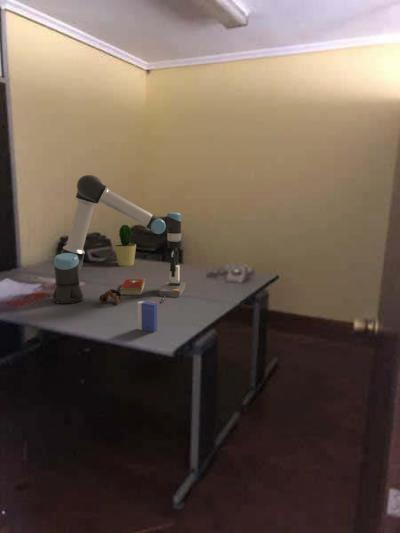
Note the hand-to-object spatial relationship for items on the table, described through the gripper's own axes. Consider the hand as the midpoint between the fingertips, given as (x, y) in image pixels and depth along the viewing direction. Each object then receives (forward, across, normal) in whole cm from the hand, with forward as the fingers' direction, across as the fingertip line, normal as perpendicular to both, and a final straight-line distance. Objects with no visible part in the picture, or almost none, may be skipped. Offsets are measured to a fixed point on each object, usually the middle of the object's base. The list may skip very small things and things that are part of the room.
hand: (174, 280), depth 224 cm
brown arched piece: (+5, -32, +27) cm, 42 cm away
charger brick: (0, 0, 0) cm, 0 cm away
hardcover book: (+6, -4, +23) cm, 24 cm away
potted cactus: (+5, +61, +47) cm, 77 cm away
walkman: (+5, -63, 0) cm, 63 cm away
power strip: (+5, -10, 0) cm, 11 cm away
